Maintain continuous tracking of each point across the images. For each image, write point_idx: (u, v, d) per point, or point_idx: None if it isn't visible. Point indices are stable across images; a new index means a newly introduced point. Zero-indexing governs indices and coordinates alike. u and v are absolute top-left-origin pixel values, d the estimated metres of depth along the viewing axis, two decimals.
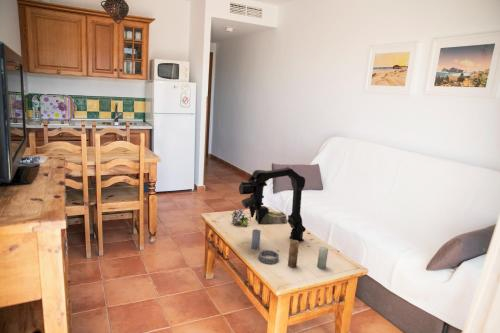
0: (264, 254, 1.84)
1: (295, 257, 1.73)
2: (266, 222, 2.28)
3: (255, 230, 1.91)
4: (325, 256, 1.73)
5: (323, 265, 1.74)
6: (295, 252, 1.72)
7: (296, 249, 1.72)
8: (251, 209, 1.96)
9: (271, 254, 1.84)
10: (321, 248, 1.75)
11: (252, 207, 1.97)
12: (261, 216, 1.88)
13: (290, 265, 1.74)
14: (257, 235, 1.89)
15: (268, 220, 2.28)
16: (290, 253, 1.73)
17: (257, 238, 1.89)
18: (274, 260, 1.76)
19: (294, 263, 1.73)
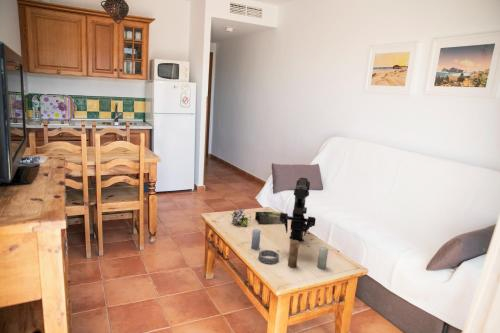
0: (264, 254, 1.84)
1: (295, 257, 1.73)
2: (266, 222, 2.28)
3: (255, 230, 1.91)
4: (325, 256, 1.73)
5: (323, 265, 1.74)
6: (295, 252, 1.72)
7: (296, 249, 1.72)
8: (287, 224, 1.84)
9: (271, 254, 1.84)
10: (321, 248, 1.75)
11: (287, 222, 1.85)
12: (307, 228, 1.83)
13: (290, 265, 1.74)
14: (257, 235, 1.89)
15: (268, 220, 2.28)
16: (290, 253, 1.73)
17: (257, 238, 1.89)
18: (274, 260, 1.76)
19: (294, 263, 1.73)
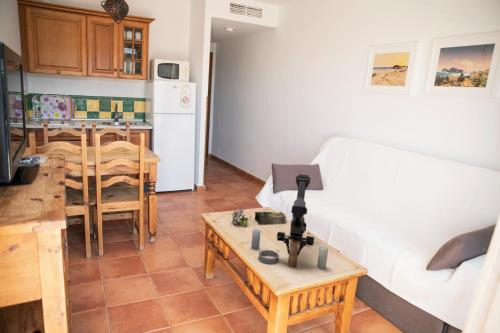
0: (264, 254, 1.84)
1: (295, 257, 1.73)
2: (266, 222, 2.28)
3: (255, 230, 1.91)
4: (325, 256, 1.73)
5: (323, 265, 1.74)
6: (295, 252, 1.72)
7: (296, 249, 1.72)
8: None
9: (271, 254, 1.84)
10: (321, 248, 1.75)
11: None
12: (301, 248, 1.75)
13: (290, 265, 1.74)
14: (257, 235, 1.89)
15: (267, 220, 2.28)
16: (290, 253, 1.73)
17: (257, 238, 1.89)
18: (274, 260, 1.76)
19: (294, 263, 1.73)
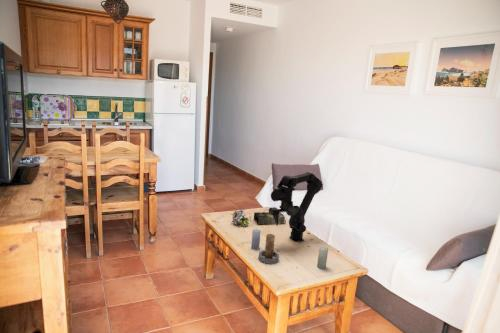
0: (264, 254, 1.84)
1: (269, 251, 1.78)
2: (264, 223, 2.27)
3: (255, 230, 1.91)
4: (325, 256, 1.73)
5: (323, 265, 1.74)
6: (269, 246, 1.77)
7: (270, 243, 1.77)
8: None
9: None
10: (321, 248, 1.75)
11: None
12: None
13: None
14: (257, 235, 1.89)
15: (266, 221, 2.27)
16: (265, 246, 1.79)
17: (257, 238, 1.89)
18: (274, 260, 1.76)
19: (268, 256, 1.78)
